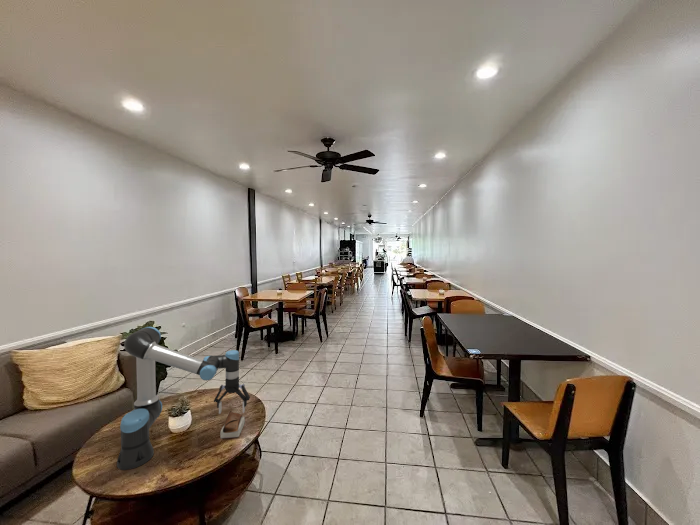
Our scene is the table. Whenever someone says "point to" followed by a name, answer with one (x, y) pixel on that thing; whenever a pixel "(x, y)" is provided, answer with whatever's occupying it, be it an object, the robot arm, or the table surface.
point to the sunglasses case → (232, 422)
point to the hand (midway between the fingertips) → (232, 412)
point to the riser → (233, 434)
